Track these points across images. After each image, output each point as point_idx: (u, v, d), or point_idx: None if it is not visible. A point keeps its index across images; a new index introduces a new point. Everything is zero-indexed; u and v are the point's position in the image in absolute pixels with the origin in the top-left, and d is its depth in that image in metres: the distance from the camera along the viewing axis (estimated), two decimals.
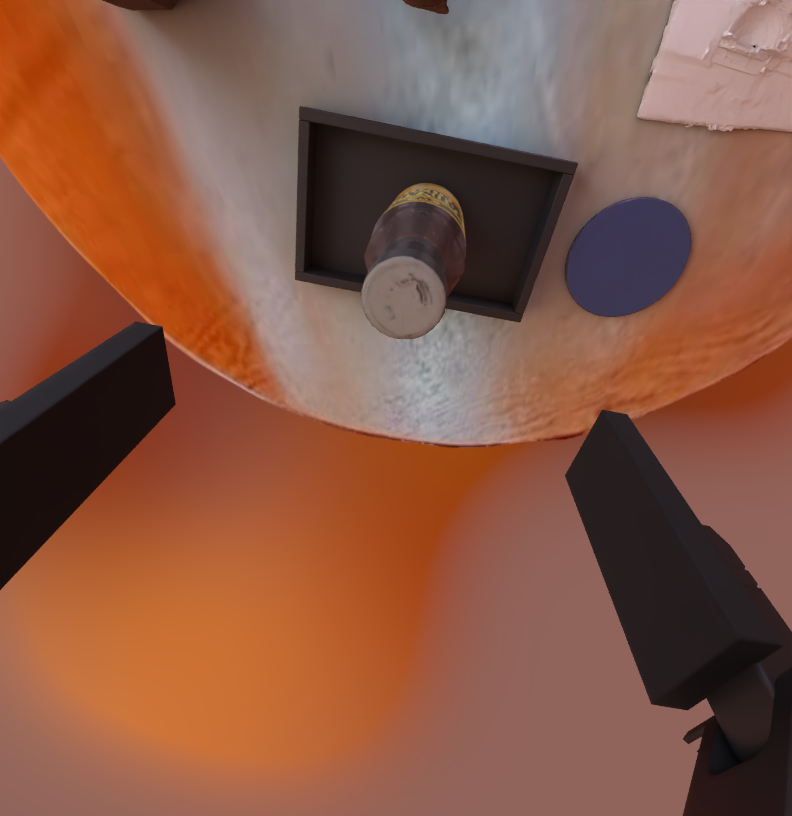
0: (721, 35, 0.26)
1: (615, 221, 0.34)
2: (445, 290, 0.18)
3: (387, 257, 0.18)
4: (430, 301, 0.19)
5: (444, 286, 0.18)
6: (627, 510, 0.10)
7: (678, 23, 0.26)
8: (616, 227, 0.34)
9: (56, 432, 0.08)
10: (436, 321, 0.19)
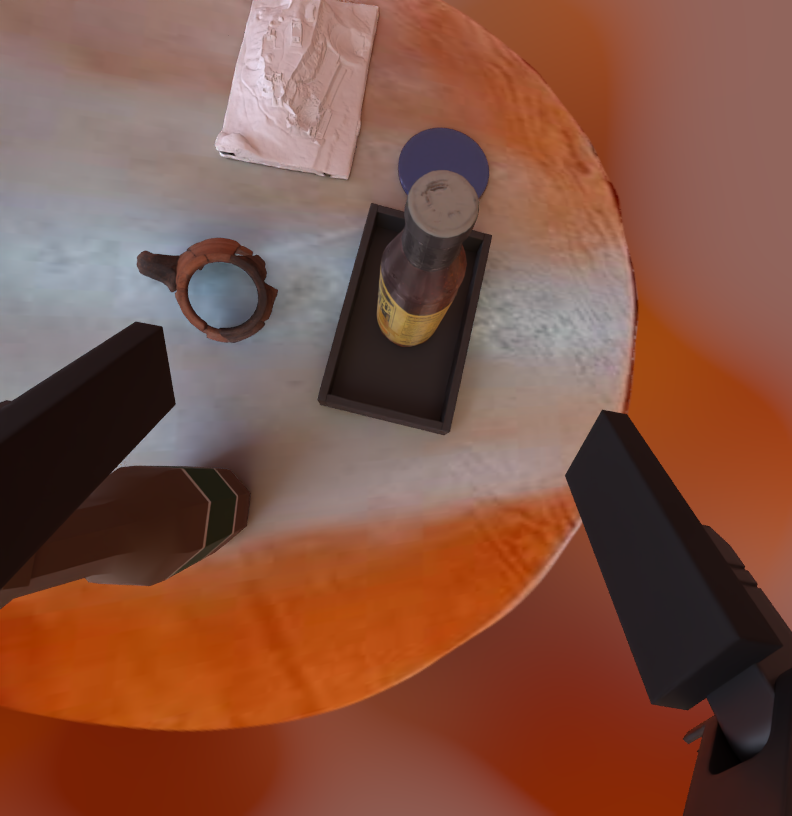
0: (309, 136, 0.43)
1: (413, 180, 0.44)
2: (436, 171, 0.22)
3: (408, 214, 0.22)
4: (444, 181, 0.22)
5: None
6: (627, 510, 0.10)
7: (300, 162, 0.43)
8: (417, 179, 0.44)
9: (56, 432, 0.08)
10: (462, 177, 0.22)
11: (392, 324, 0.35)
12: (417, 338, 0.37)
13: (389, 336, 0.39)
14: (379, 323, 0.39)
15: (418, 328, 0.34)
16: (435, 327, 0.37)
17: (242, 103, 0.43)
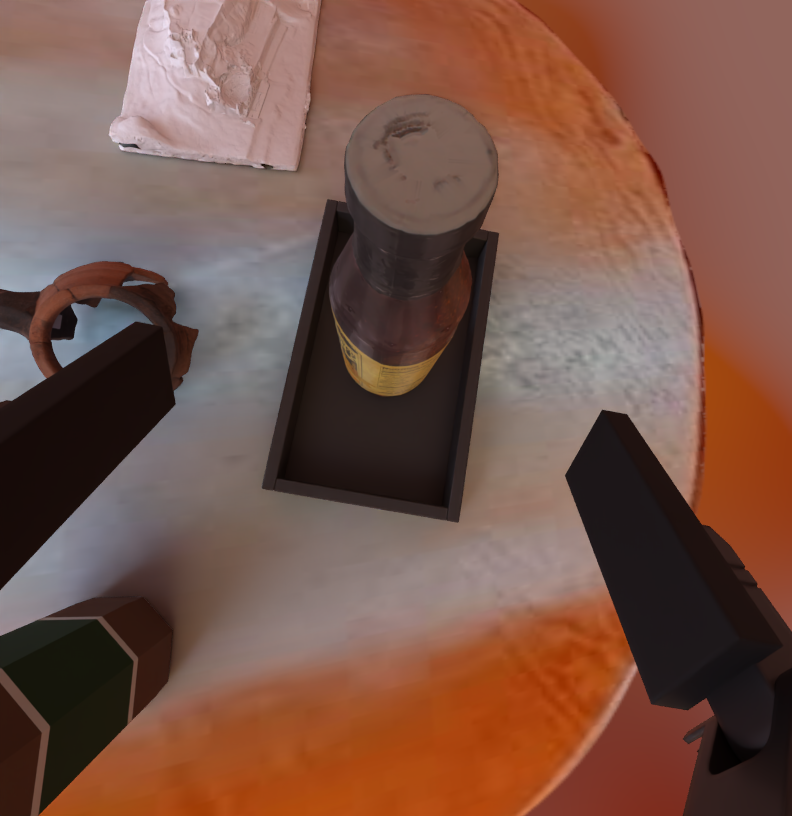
0: (239, 116, 0.31)
1: None
2: None
3: (350, 190, 0.10)
4: (422, 116, 0.10)
5: None
6: (627, 510, 0.10)
7: (229, 150, 0.31)
8: None
9: (56, 432, 0.08)
10: (459, 107, 0.11)
11: (363, 374, 0.23)
12: (402, 388, 0.26)
13: (362, 386, 0.27)
14: (347, 368, 0.27)
15: (401, 379, 0.22)
16: (427, 372, 0.25)
17: (146, 78, 0.31)
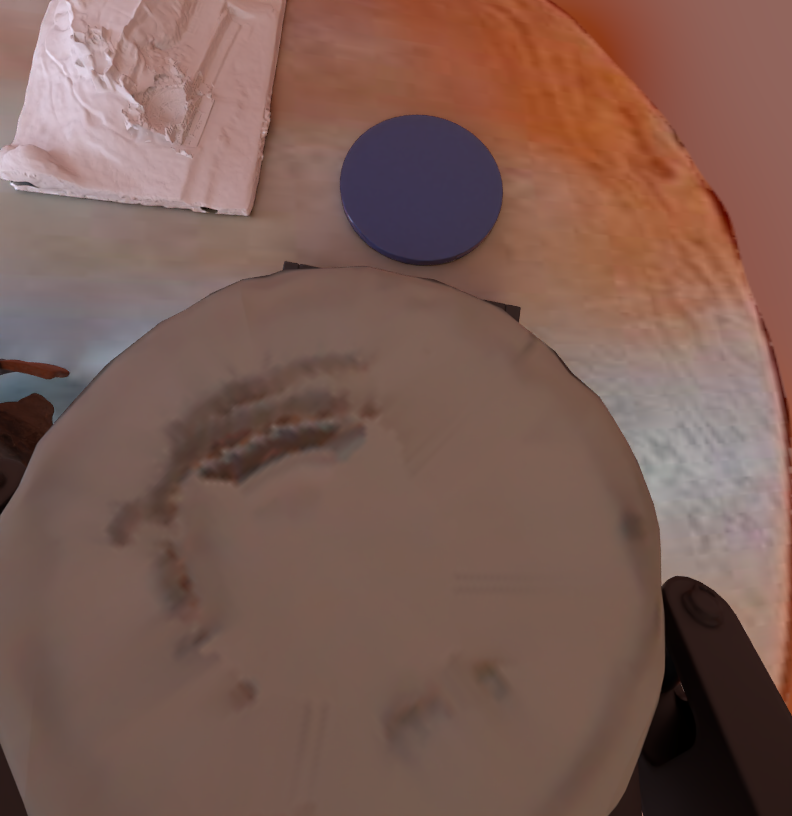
0: (171, 143, 0.23)
1: (368, 210, 0.24)
2: None
3: None
4: (342, 369, 0.02)
5: None
6: None
7: (158, 190, 0.23)
8: (376, 207, 0.24)
9: None
10: (499, 322, 0.03)
11: None
12: None
13: None
14: None
15: None
16: None
17: (48, 92, 0.23)
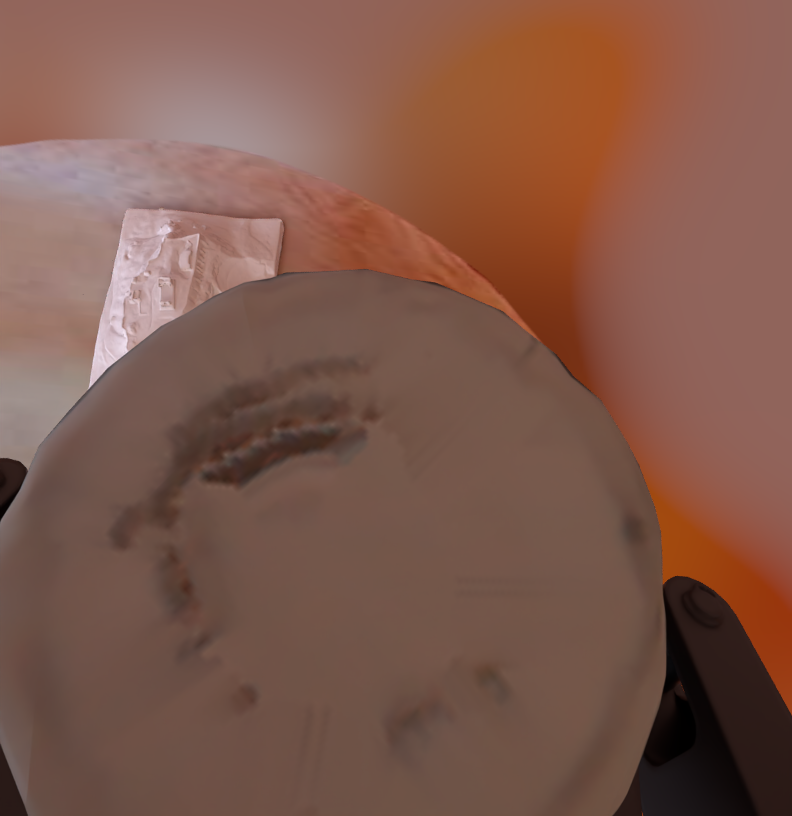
0: None
1: None
2: None
3: None
4: (344, 372, 0.02)
5: None
6: None
7: None
8: None
9: None
10: (500, 326, 0.03)
11: None
12: None
13: None
14: None
15: None
16: None
17: None
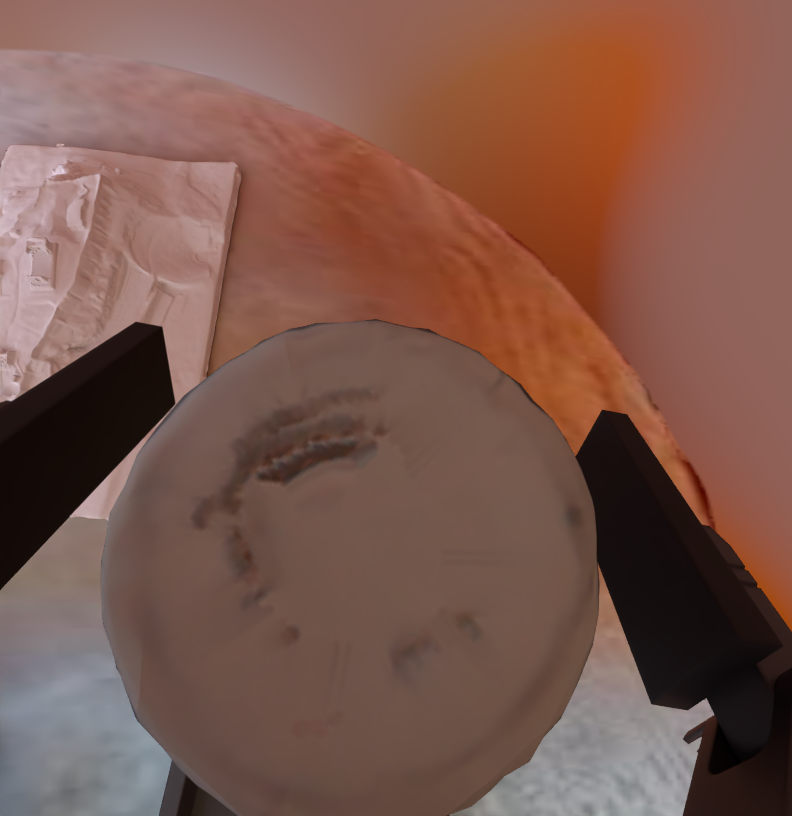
0: None
1: None
2: None
3: None
4: (360, 400, 0.03)
5: (287, 333, 0.04)
6: (627, 510, 0.10)
7: None
8: None
9: (56, 432, 0.08)
10: (476, 364, 0.03)
11: None
12: None
13: None
14: None
15: None
16: None
17: None
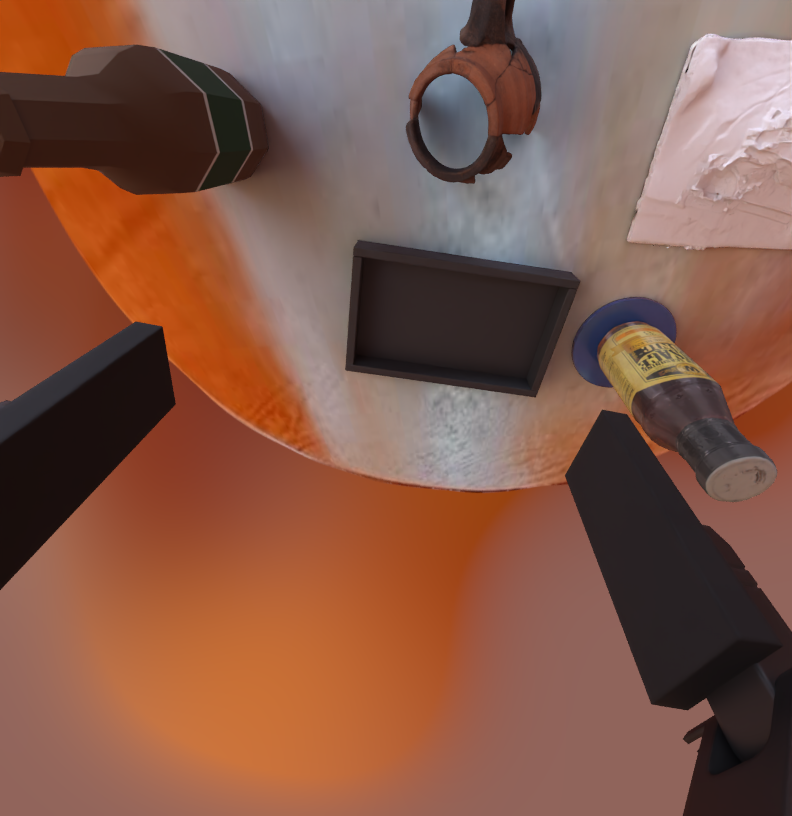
0: (690, 187, 0.33)
1: (612, 316, 0.40)
2: None
3: (738, 455, 0.25)
4: (762, 481, 0.26)
5: (776, 472, 0.25)
6: (627, 510, 0.10)
7: (656, 179, 0.33)
8: (613, 320, 0.41)
9: (56, 432, 0.08)
10: (761, 492, 0.26)
11: (626, 359, 0.36)
12: (606, 371, 0.40)
13: (611, 340, 0.39)
14: (627, 330, 0.39)
15: (618, 385, 0.37)
16: None
17: (771, 70, 0.29)
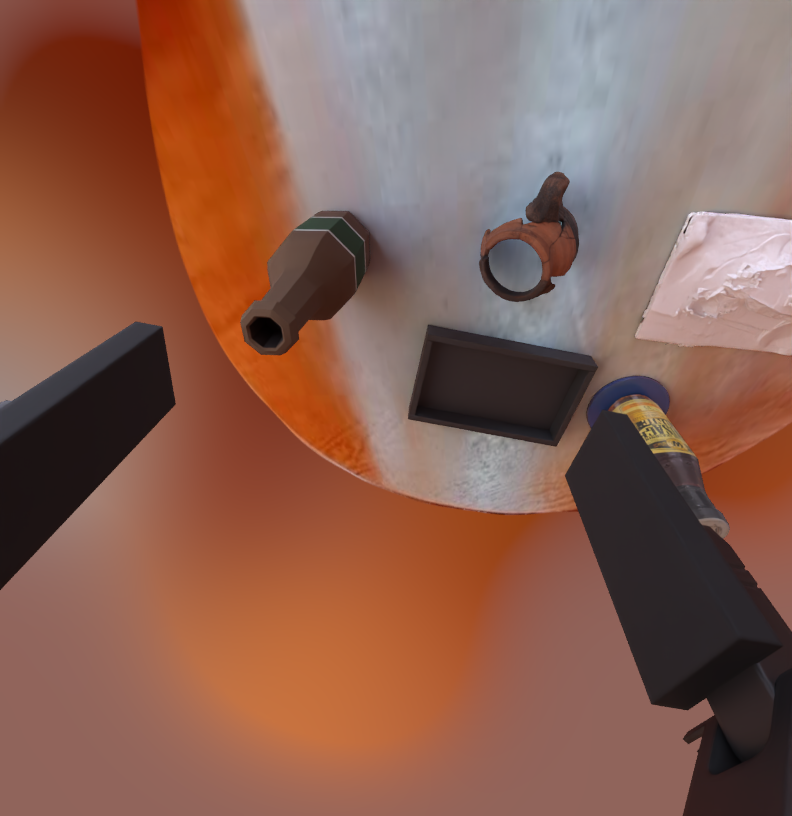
0: (684, 307, 0.45)
1: (620, 389, 0.52)
2: (728, 529, 0.37)
3: (703, 516, 0.37)
4: (719, 534, 0.37)
5: None
6: (627, 510, 0.10)
7: (659, 299, 0.45)
8: (621, 392, 0.52)
9: (56, 432, 0.08)
10: None
11: None
12: None
13: (619, 409, 0.51)
14: (631, 403, 0.50)
15: None
16: None
17: (744, 236, 0.41)
